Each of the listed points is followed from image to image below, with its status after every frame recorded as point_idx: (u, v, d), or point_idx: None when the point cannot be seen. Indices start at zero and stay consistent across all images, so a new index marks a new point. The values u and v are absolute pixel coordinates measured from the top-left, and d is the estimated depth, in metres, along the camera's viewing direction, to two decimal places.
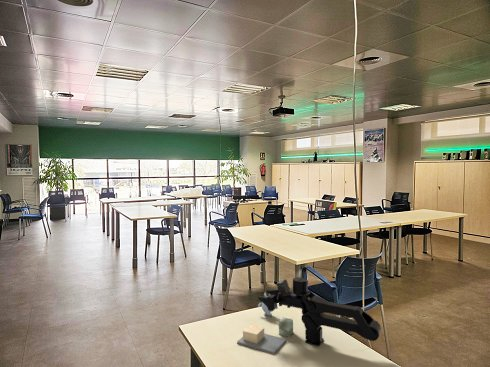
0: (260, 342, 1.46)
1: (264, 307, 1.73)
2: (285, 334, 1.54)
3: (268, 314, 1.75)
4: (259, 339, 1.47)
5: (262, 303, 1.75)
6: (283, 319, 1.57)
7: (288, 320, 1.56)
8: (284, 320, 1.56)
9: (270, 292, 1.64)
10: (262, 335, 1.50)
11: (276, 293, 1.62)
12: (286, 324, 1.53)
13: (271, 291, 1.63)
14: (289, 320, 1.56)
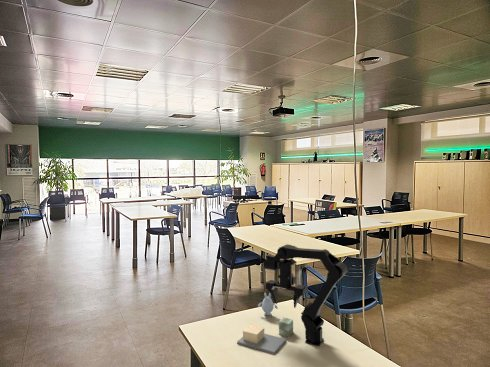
0: (260, 342, 1.46)
1: (264, 307, 1.73)
2: (285, 334, 1.54)
3: (268, 314, 1.75)
4: (259, 339, 1.47)
5: (262, 303, 1.75)
6: (283, 319, 1.57)
7: (288, 320, 1.56)
8: (284, 320, 1.56)
9: None
10: (262, 335, 1.50)
11: None
12: (286, 324, 1.53)
13: None
14: (289, 320, 1.56)
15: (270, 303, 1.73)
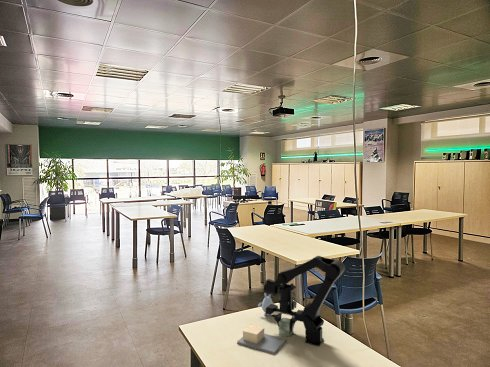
0: (260, 342, 1.46)
1: (264, 307, 1.73)
2: (285, 334, 1.54)
3: (268, 314, 1.75)
4: (259, 339, 1.47)
5: (262, 303, 1.75)
6: (283, 319, 1.57)
7: (288, 320, 1.56)
8: (284, 320, 1.56)
9: None
10: (262, 335, 1.50)
11: None
12: (286, 324, 1.53)
13: None
14: (289, 320, 1.56)
15: (270, 303, 1.73)
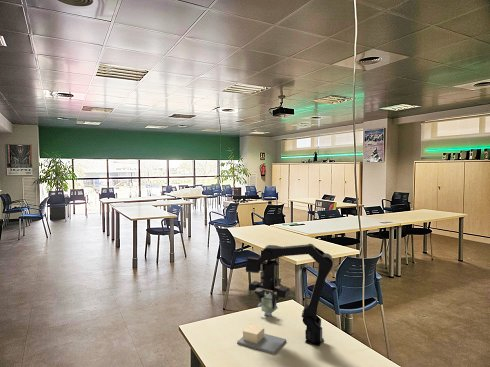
0: (260, 342, 1.46)
1: None
2: (268, 311, 1.50)
3: (268, 314, 1.75)
4: (259, 339, 1.47)
5: None
6: (266, 296, 1.54)
7: (271, 297, 1.53)
8: (267, 297, 1.53)
9: None
10: (262, 335, 1.50)
11: None
12: (269, 300, 1.50)
13: None
14: None
15: None
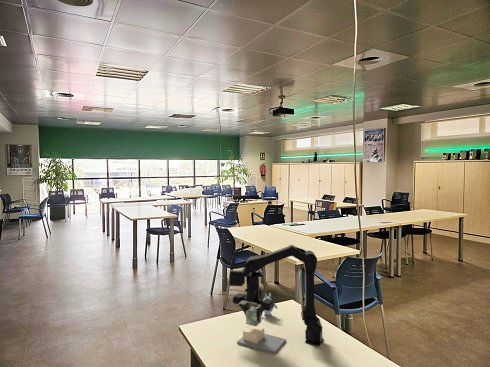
0: (260, 342, 1.46)
1: None
2: (252, 324, 1.47)
3: (268, 314, 1.75)
4: (259, 339, 1.47)
5: None
6: (251, 308, 1.51)
7: (256, 309, 1.50)
8: (252, 309, 1.50)
9: None
10: (262, 335, 1.50)
11: None
12: (253, 313, 1.47)
13: None
14: None
15: None
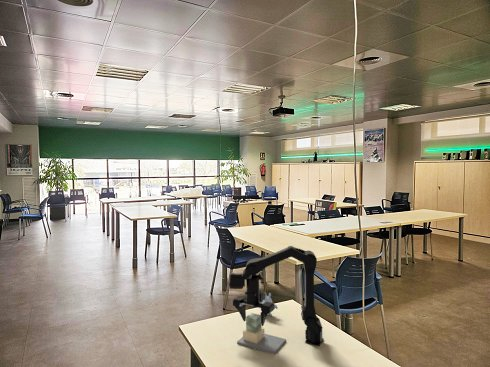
0: (260, 342, 1.46)
1: None
2: (252, 330, 1.47)
3: (268, 314, 1.75)
4: (259, 339, 1.47)
5: (262, 303, 1.75)
6: (251, 315, 1.51)
7: (256, 316, 1.50)
8: (252, 315, 1.50)
9: None
10: (262, 335, 1.50)
11: None
12: (253, 320, 1.47)
13: None
14: (257, 316, 1.50)
15: None
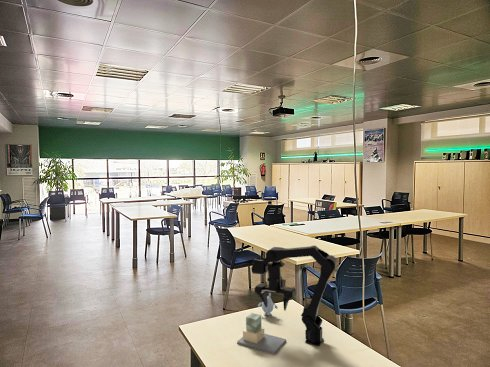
0: (260, 342, 1.46)
1: (264, 307, 1.73)
2: (252, 330, 1.47)
3: (268, 314, 1.75)
4: (259, 339, 1.47)
5: (262, 303, 1.75)
6: (251, 315, 1.51)
7: (256, 316, 1.50)
8: (252, 315, 1.50)
9: None
10: (262, 335, 1.50)
11: None
12: (253, 320, 1.47)
13: None
14: (257, 316, 1.50)
15: (270, 303, 1.73)
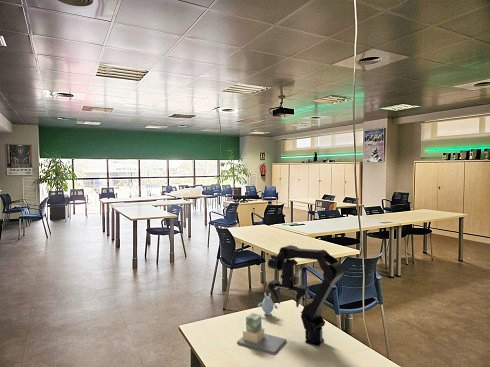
0: (260, 342, 1.46)
1: (264, 307, 1.73)
2: (252, 330, 1.47)
3: (268, 314, 1.75)
4: (259, 339, 1.47)
5: (262, 303, 1.75)
6: (251, 315, 1.51)
7: (256, 316, 1.50)
8: (252, 315, 1.50)
9: None
10: (262, 335, 1.50)
11: None
12: (253, 320, 1.47)
13: None
14: (257, 316, 1.50)
15: (270, 303, 1.73)
